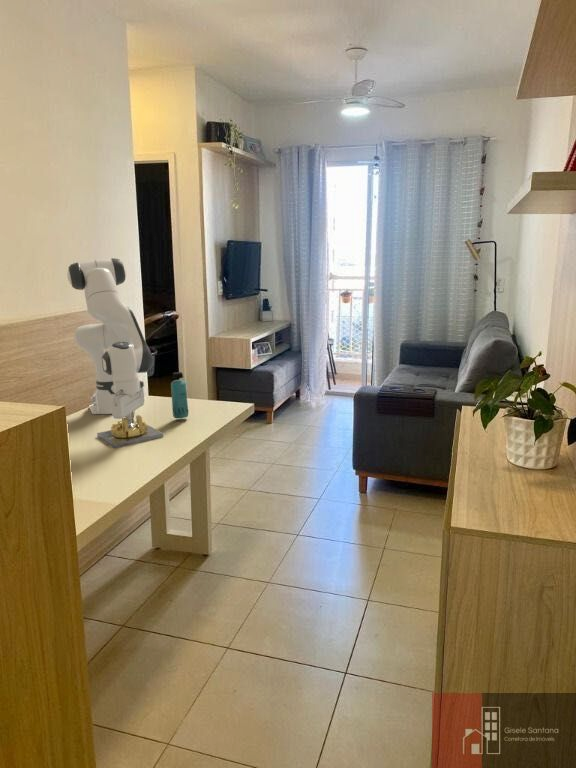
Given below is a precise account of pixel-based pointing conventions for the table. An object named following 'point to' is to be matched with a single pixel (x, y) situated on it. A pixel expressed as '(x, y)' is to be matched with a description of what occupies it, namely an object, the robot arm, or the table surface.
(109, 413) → the robot arm
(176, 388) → the beverage bottle
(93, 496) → the table surface
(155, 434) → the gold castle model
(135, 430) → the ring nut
